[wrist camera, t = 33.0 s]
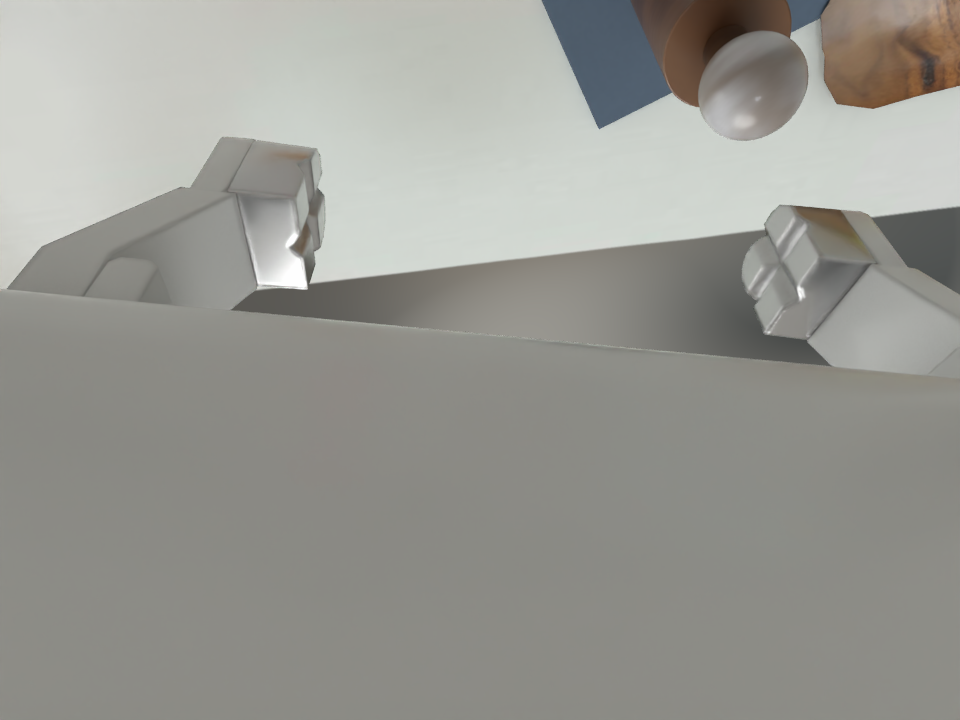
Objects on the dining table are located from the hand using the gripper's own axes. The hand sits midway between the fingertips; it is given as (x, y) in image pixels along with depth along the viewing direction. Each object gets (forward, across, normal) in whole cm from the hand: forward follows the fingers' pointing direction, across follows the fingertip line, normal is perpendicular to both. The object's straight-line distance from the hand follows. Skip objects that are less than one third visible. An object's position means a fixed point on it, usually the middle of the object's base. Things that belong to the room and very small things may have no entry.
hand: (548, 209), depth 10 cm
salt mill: (+30, -7, +1) cm, 31 cm away
